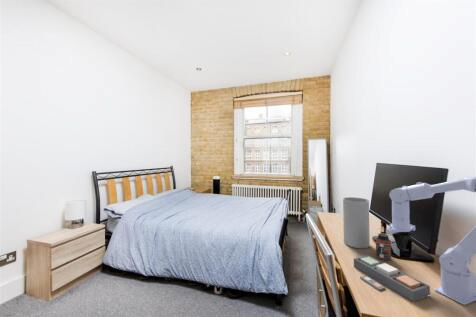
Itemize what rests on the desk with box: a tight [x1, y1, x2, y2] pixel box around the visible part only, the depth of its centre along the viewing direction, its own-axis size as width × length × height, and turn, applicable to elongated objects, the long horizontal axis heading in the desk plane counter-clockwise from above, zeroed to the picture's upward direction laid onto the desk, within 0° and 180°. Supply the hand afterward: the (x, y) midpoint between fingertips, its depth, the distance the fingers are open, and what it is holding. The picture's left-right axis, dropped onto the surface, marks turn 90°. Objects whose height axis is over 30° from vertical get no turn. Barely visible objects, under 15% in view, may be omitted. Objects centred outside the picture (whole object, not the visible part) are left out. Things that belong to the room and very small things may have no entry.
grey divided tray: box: [353, 254, 431, 302], centre depth 81 cm, size 9×24×4 cm, turn 18°
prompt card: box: [359, 275, 386, 291], centre depth 78 cm, size 3×8×1 cm, turn 18°
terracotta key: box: [396, 275, 420, 290], centre depth 74 cm, size 5×5×3 cm
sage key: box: [360, 257, 380, 267], centre depth 88 cm, size 5×5×3 cm
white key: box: [376, 262, 399, 277], centre depth 81 cm, size 5×5×3 cm
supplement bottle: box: [375, 232, 392, 261], centre depth 97 cm, size 6×6×11 cm
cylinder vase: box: [342, 196, 371, 249], centre depth 113 cm, size 12×12×25 cm
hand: (401, 249), depth 84 cm, fingers closed
